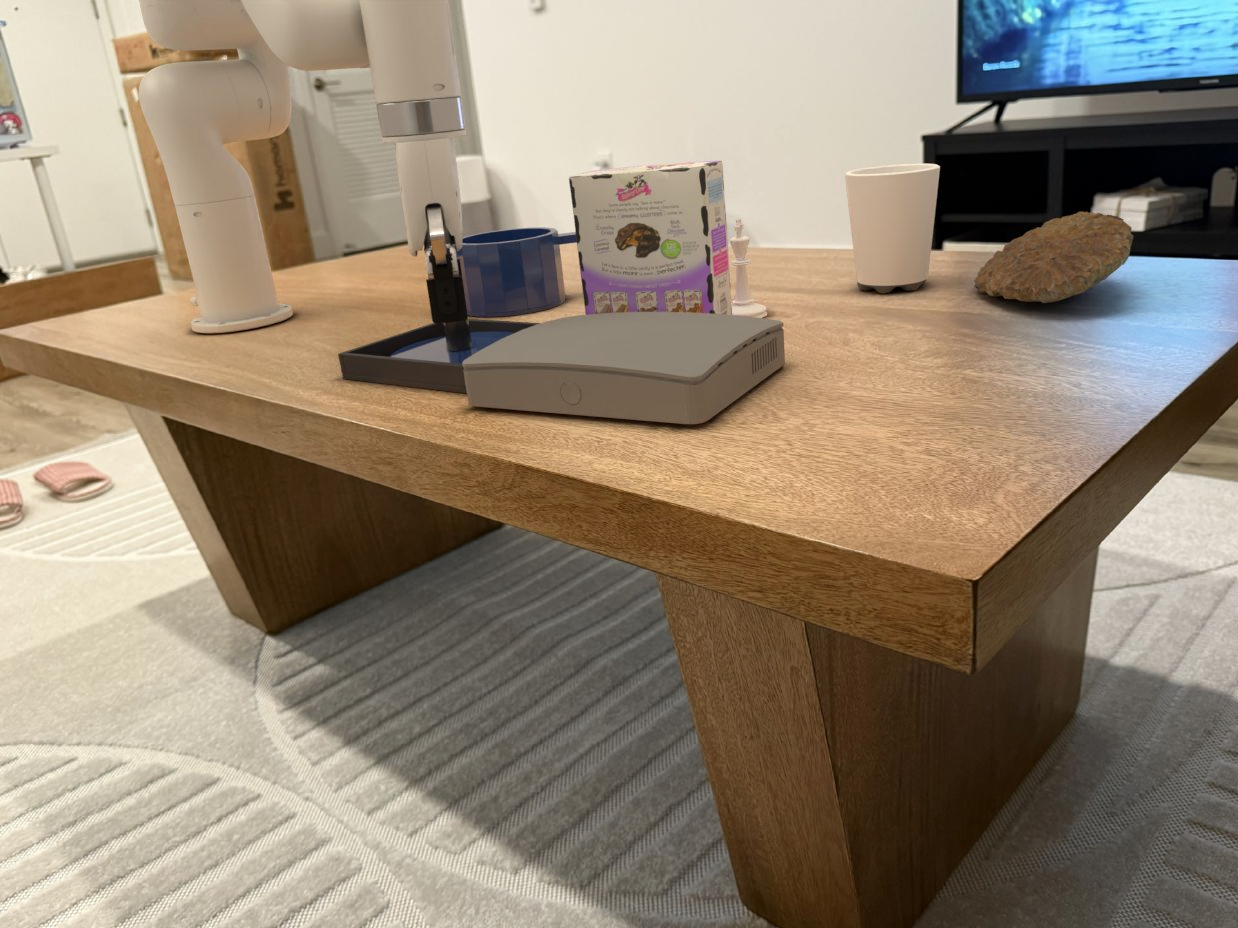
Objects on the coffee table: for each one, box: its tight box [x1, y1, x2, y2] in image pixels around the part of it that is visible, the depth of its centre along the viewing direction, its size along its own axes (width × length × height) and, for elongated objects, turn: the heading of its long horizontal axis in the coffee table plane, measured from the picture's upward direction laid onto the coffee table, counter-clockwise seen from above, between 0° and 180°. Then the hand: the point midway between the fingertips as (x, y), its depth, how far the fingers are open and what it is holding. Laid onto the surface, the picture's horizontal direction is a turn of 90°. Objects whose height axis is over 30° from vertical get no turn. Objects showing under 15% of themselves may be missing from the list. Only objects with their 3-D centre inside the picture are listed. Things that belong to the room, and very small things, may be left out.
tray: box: [337, 318, 541, 394], centre depth 95 cm, size 17×15×2 cm
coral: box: [973, 211, 1134, 304], centre depth 97 cm, size 19×9×15 cm
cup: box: [844, 163, 941, 294], centre depth 108 cm, size 10×10×13 cm
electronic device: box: [462, 312, 786, 425], centre depth 82 cm, size 19×22×5 cm
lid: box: [390, 317, 514, 364], centre depth 95 cm, size 14×14×6 cm
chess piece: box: [729, 218, 768, 318], centre depth 102 cm, size 5×5×10 cm
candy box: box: [568, 160, 732, 315], centre depth 95 cm, size 14×6×16 cm, turn 65°
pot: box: [456, 226, 577, 318], centre depth 120 cm, size 13×18×8 cm
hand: (449, 310), depth 94 cm, fingers open, 9 cm apart
